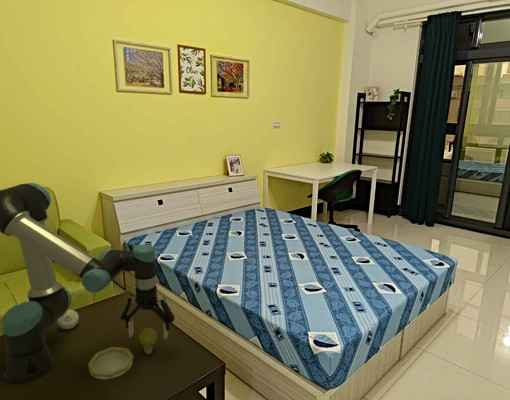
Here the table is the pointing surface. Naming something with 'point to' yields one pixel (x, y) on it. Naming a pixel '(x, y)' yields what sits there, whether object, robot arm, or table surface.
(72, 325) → the motion sensor
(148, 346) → the light bulb
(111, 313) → the table surface
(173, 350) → the table surface
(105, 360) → the socket base
